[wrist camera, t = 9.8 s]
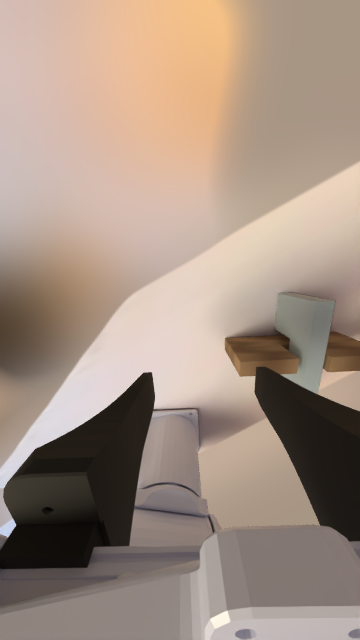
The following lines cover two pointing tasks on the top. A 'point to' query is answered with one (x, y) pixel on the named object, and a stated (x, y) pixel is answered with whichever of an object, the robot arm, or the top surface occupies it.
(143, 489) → the robot arm
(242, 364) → the walnut plate
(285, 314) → the pale green bar
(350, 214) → the top surface
